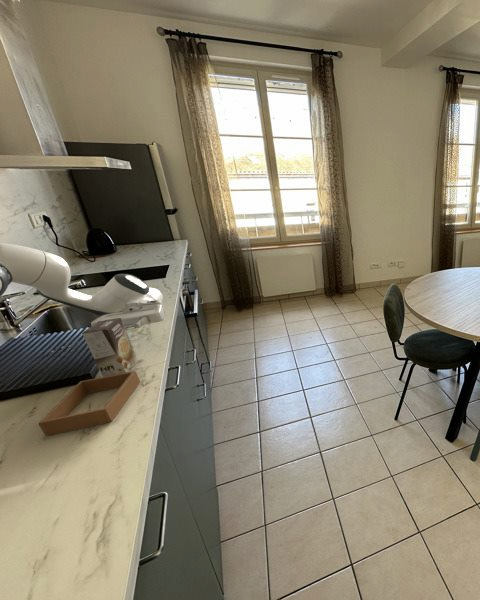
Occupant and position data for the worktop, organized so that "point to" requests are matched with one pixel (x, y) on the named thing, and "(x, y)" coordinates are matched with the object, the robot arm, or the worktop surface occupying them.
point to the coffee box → (110, 347)
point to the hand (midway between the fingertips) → (119, 328)
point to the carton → (64, 422)
